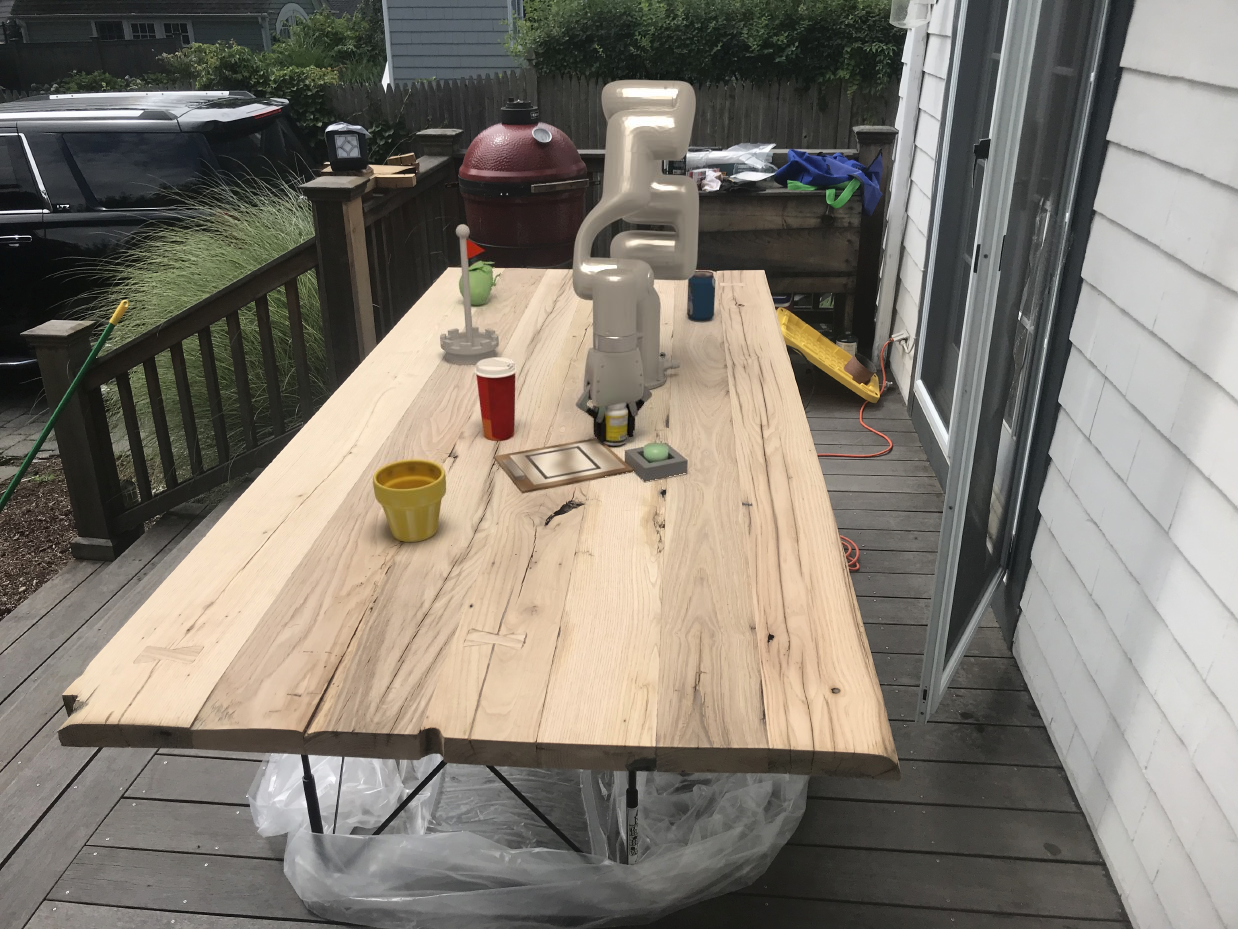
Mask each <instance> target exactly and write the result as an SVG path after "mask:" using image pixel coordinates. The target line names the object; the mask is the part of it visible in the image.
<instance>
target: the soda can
mask: <svg viewBox="0 0 1238 929" xmlns="http://www.w3.org/2000/svg"><path fill="white" fill-rule="evenodd" d="M687 280H688V281H687V299H686V300H687V302H686V315H687V317H688V319H689V320H690V321H692V322H695V323H707V322H711V320H712V318H713V317H714V316H715V303H716V302H715V300H716V299H715V298H716V282H717V281H716V279H715V276H714V272H713V271H711V270H710V271H709V270H704V269H703V270H695V273H694V275H693V276H692V277H691V278H690V279H687Z"/></svg>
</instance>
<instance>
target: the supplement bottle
mask: <svg viewBox="0 0 1238 929" xmlns="http://www.w3.org/2000/svg"><path fill="white" fill-rule="evenodd" d="M603 421H604V422H605V423H606V441H605V442H604V443H605V444H606V445H607V446H613V447H614V446H621V445H624V444H626V443H627V440H628V436H627V422H628V409H627V408H626V403H620V404H615V405H612V406H606V409H605V413H604V417H603Z"/></svg>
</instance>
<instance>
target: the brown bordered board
mask: <svg viewBox="0 0 1238 929" xmlns="http://www.w3.org/2000/svg"><path fill="white" fill-rule="evenodd" d="M493 459H494V460H495V462H496V463H497V464H498V465H499V466H500V468H501V469H502V470H503V471H504V472H505V474H506V475H507V477H508V478H509V479H510V480H511V481H512V482H513V484H514V485H515V486H516V487H517V488H518V490H519V491H520V493H522V494H526V493H532V492H536V491H542V490H547V489H552V488H556V487H562V486H566V485H567V486H568V485H572V484H578V483H582V482H587V481H588V482H589V481H592V480H597V479H598V478H599V479H602V477H604V478H606V477H605V476H609V477H611V476H610V475H614V476H617V474H619V475H623V474H622V473H624V474H627V473H626V472H629V473H633V472H632V471H633V469H632V468H631V467H630V466H629V465H628V464H627V463H626V462H625V460H624V459H622V458H621V457H620V456H619V455H618V454H617V453H616V452H615V451H614V450H612V448H610V447H609V445H607V444H605V443H601V442H600V441H599V440H598V439H597V438H596V437H593V438H589V439H583V440H576V441H571V442H566V443H565V442H564V443H559V444H555V445H549V446H544V447H537V448H532V449H531V448H530V449H526V450H520V451H515V452H510V453H509V452H508V453H503V454H497V455H494V456H493Z"/></svg>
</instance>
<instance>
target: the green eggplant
mask: <svg viewBox="0 0 1238 929" xmlns="http://www.w3.org/2000/svg"><path fill="white" fill-rule="evenodd" d="M491 264H495V261H494V262H492V261H482V260H479V261H476V262H475V263H473V264H472V265H470V266H468V267H469V283H470V299H471V305H472V306H473V305H474V306H481V305H483V304H485V303H487V301H488V299H489V297H490V294H491V292H492V289H493V287H496V286H497V284H498V283H496V280H497V278H498V277H499V278H500V277H501V275H502V273H501V272H500V273H498V274H496V275H495V277H494V272H493V271H494V270H493V269H495V268H496V267H495V266H494V267H492V266H491ZM458 287H459V289H458V290H459V292H460V295H461V297H462V298H463V299H464V297H463V282H462V275H461V276H460V278H459V281H458Z"/></svg>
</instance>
